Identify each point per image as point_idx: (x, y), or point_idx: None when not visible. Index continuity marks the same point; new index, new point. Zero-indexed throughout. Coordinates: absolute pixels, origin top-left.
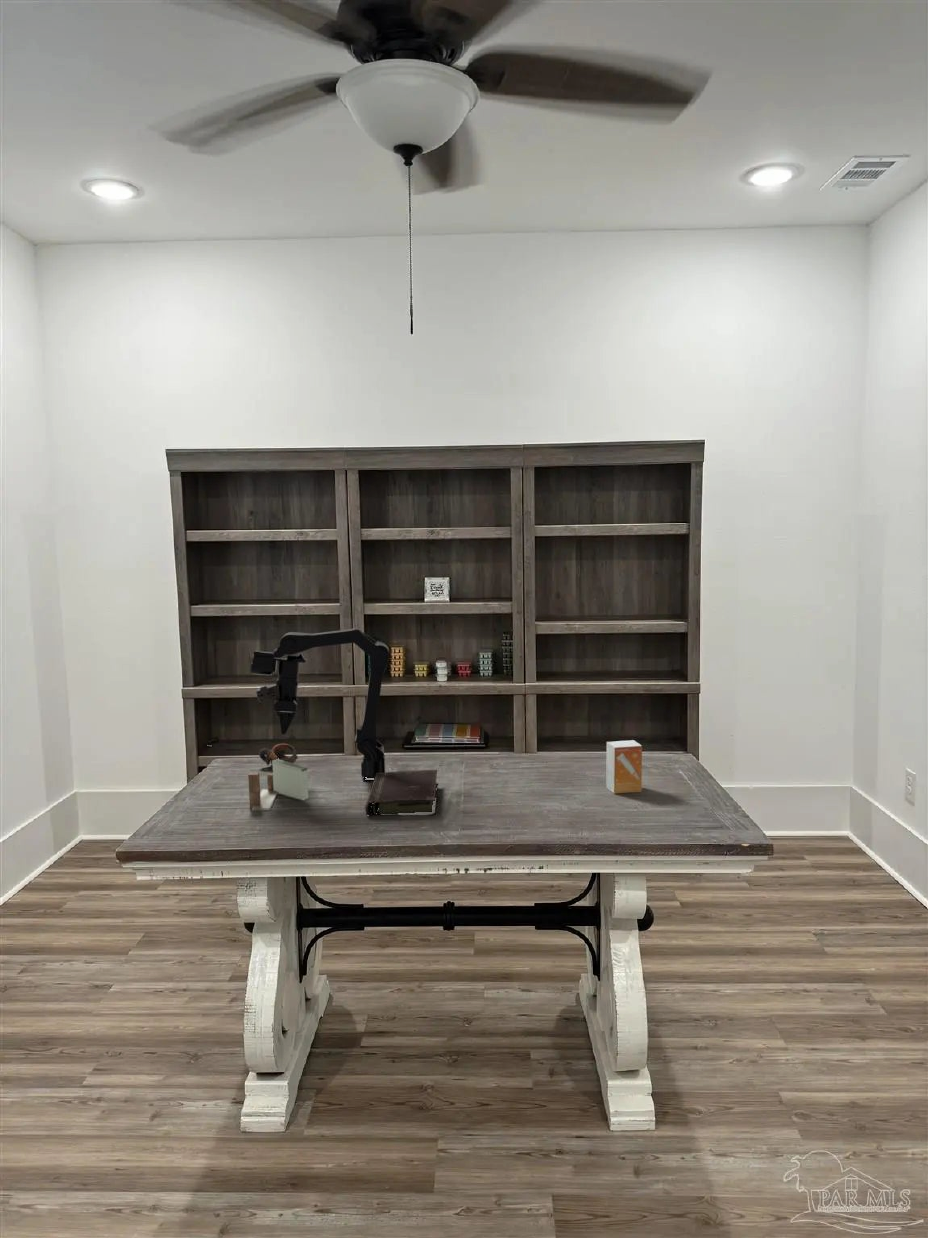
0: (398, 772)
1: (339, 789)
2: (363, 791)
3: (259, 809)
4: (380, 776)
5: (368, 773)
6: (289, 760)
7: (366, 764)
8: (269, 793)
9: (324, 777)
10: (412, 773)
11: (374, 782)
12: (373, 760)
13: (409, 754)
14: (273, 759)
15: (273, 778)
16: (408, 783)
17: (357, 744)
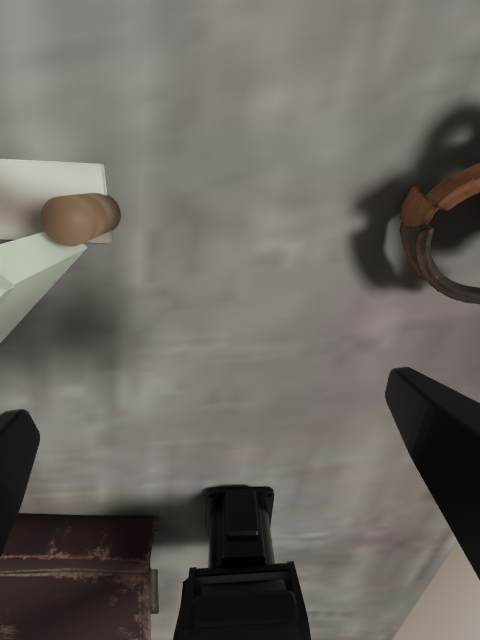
0: (142, 601)
1: (131, 437)
2: (110, 492)
3: None
4: (111, 568)
5: (215, 518)
6: (420, 267)
7: (220, 543)
8: (41, 208)
9: (271, 386)
10: (130, 624)
11: (50, 559)
12: (183, 586)
13: (437, 564)
14: (451, 183)
15: (31, 236)
16: (34, 622)
17: (191, 628)
